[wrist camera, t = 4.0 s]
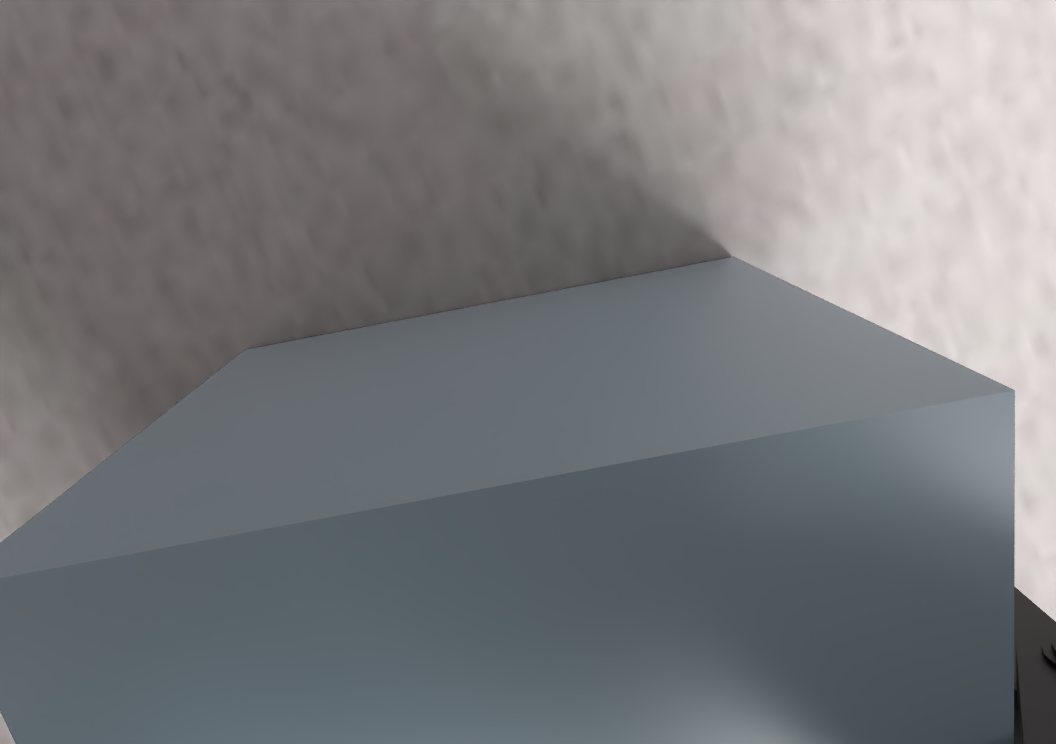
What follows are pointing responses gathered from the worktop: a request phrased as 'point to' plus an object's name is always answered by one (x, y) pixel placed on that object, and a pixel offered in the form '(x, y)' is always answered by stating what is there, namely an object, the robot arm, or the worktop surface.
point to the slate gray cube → (540, 537)
